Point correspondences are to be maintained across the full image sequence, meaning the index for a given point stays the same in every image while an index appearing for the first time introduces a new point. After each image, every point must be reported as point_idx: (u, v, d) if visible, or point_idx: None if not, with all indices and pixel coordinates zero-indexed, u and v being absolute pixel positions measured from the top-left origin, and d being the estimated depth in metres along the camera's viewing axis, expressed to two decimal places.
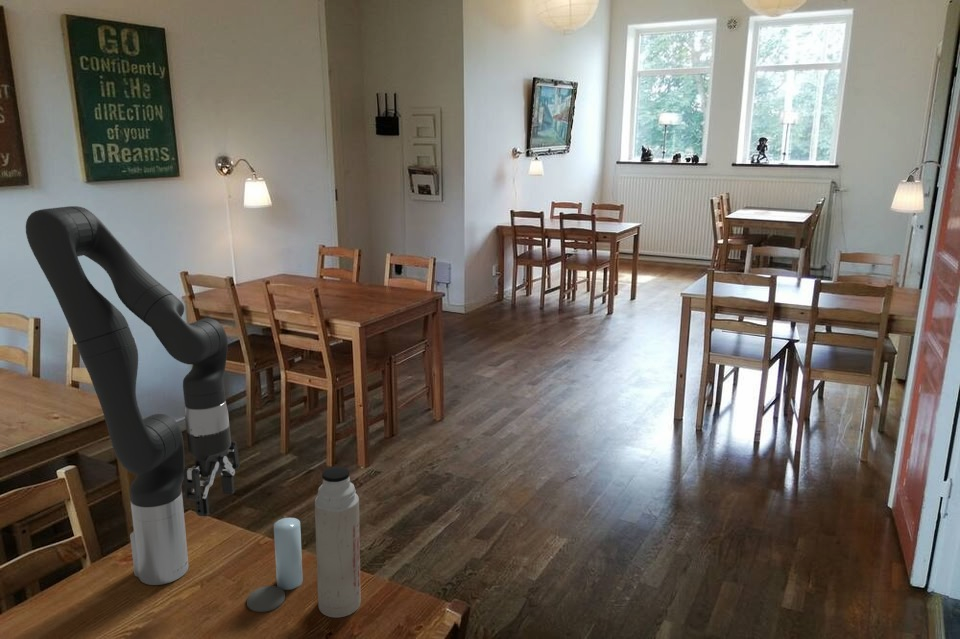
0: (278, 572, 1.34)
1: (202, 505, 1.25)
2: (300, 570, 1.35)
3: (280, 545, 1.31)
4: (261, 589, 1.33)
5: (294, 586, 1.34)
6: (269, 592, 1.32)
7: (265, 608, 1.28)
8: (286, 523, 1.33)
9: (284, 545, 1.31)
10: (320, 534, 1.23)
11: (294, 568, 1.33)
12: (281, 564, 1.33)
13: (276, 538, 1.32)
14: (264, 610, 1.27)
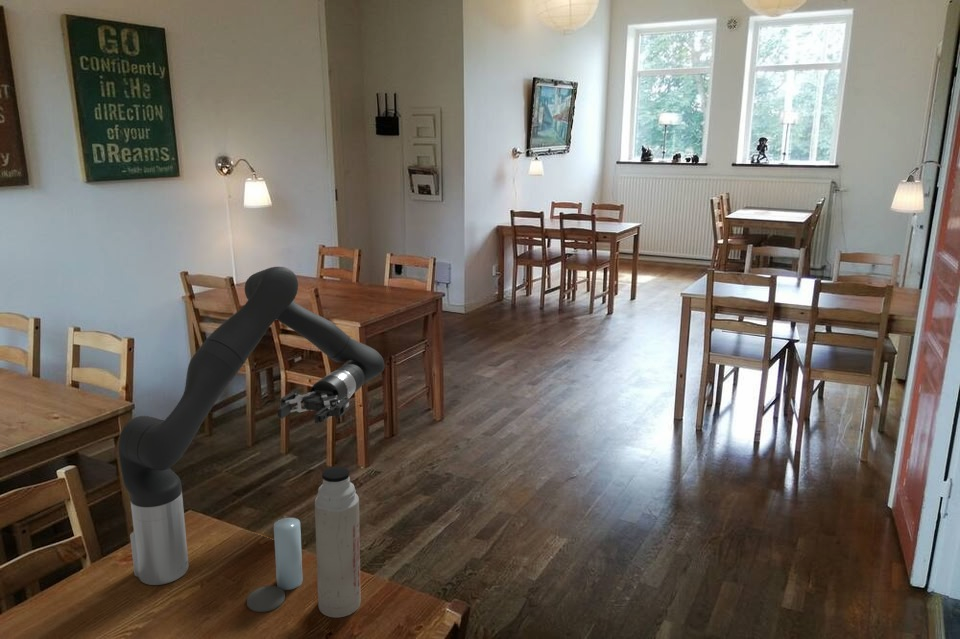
0: (278, 572, 1.34)
1: None
2: (300, 570, 1.35)
3: (280, 545, 1.31)
4: (261, 589, 1.33)
5: (294, 586, 1.34)
6: (269, 592, 1.32)
7: (265, 608, 1.28)
8: (286, 523, 1.33)
9: (284, 545, 1.31)
10: (320, 534, 1.23)
11: (294, 568, 1.33)
12: (281, 564, 1.33)
13: (276, 538, 1.32)
14: (264, 610, 1.27)
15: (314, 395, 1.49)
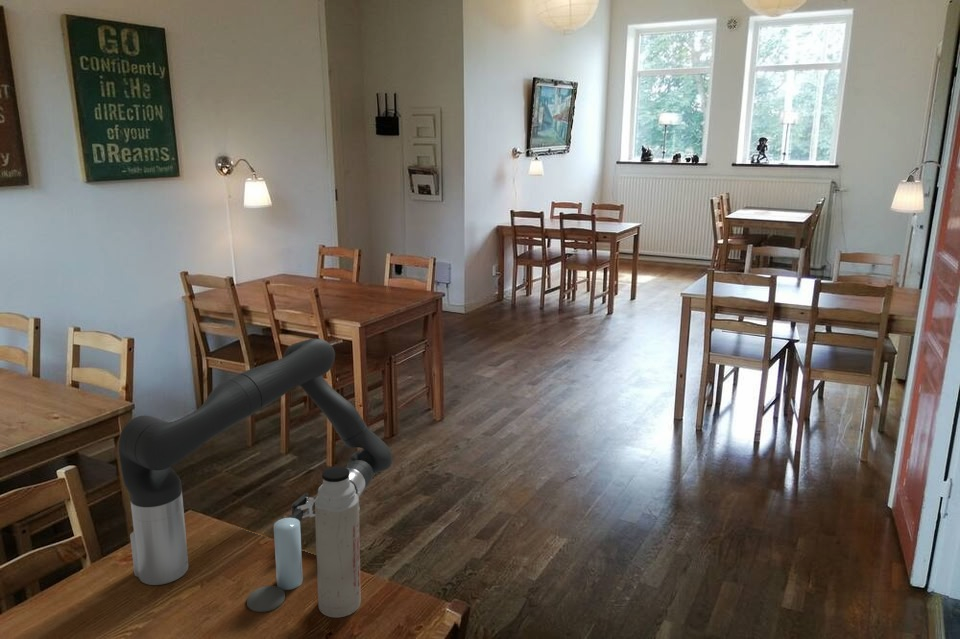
0: (278, 572, 1.33)
1: None
2: (300, 570, 1.35)
3: (280, 545, 1.31)
4: (261, 589, 1.33)
5: (294, 586, 1.34)
6: (269, 592, 1.32)
7: (265, 608, 1.28)
8: (286, 523, 1.33)
9: (283, 545, 1.31)
10: (320, 534, 1.23)
11: (294, 568, 1.33)
12: (281, 564, 1.32)
13: (276, 538, 1.31)
14: (264, 610, 1.27)
15: None
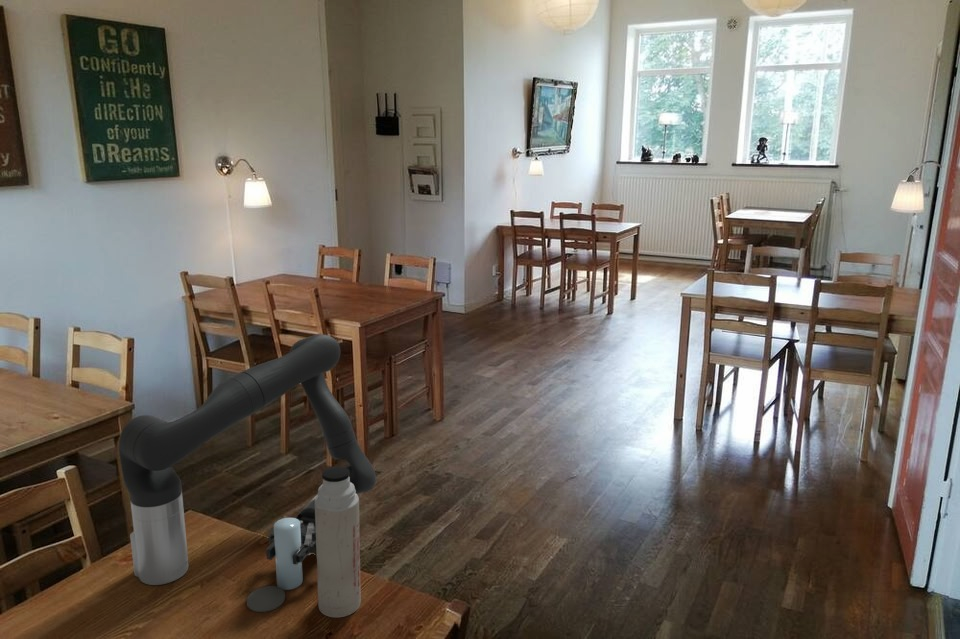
0: (278, 572, 1.33)
1: None
2: (300, 570, 1.35)
3: (280, 545, 1.31)
4: (261, 589, 1.33)
5: (294, 586, 1.34)
6: (269, 592, 1.32)
7: (265, 608, 1.28)
8: (286, 523, 1.33)
9: (284, 545, 1.31)
10: (320, 534, 1.23)
11: (295, 568, 1.33)
12: (281, 564, 1.32)
13: (276, 538, 1.32)
14: (264, 610, 1.27)
15: (302, 525, 1.41)
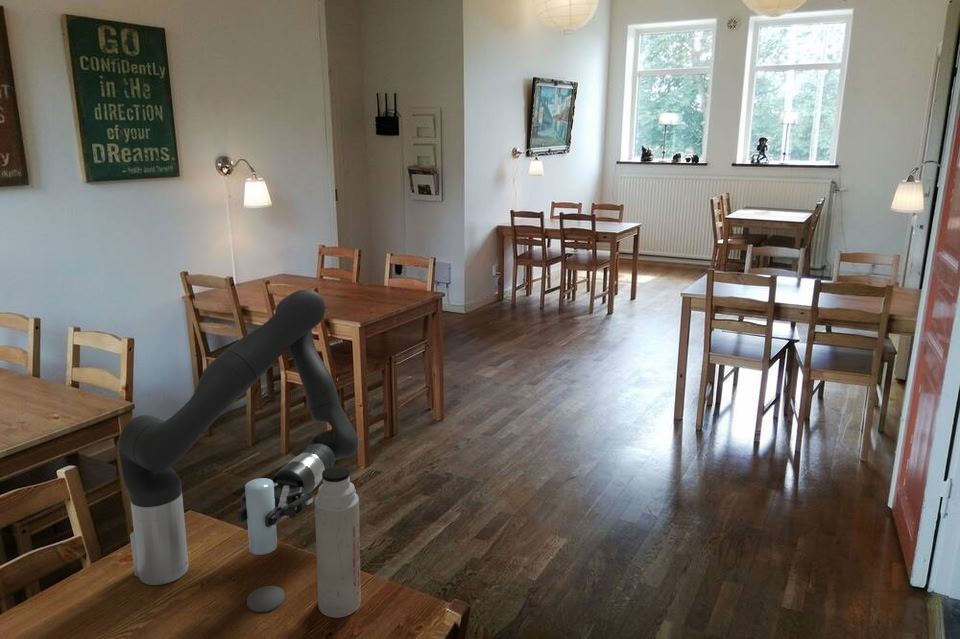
0: (250, 536, 1.25)
1: None
2: (274, 534, 1.27)
3: (252, 506, 1.23)
4: (261, 589, 1.33)
5: (267, 551, 1.26)
6: (269, 592, 1.32)
7: (265, 608, 1.28)
8: (258, 483, 1.25)
9: (255, 506, 1.23)
10: (320, 534, 1.23)
11: (268, 531, 1.25)
12: (253, 527, 1.24)
13: (248, 499, 1.23)
14: (264, 610, 1.27)
15: (277, 487, 1.32)
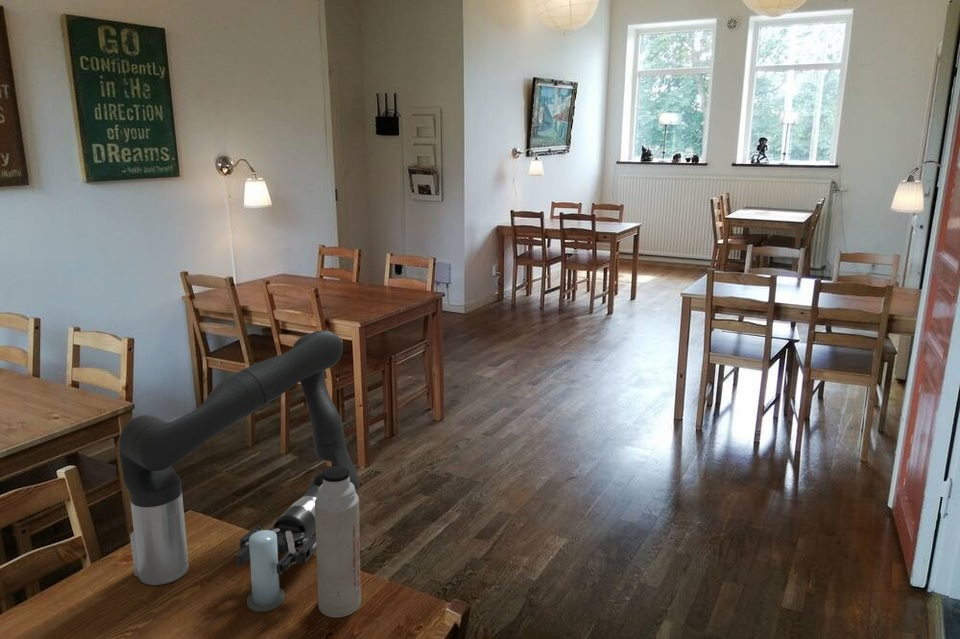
0: (254, 587, 1.28)
1: None
2: (277, 585, 1.29)
3: (256, 559, 1.26)
4: None
5: (270, 601, 1.29)
6: None
7: (265, 608, 1.28)
8: (262, 536, 1.28)
9: (259, 559, 1.26)
10: (320, 534, 1.23)
11: (271, 583, 1.28)
12: (257, 579, 1.27)
13: (252, 552, 1.26)
14: (264, 610, 1.27)
15: (278, 533, 1.35)
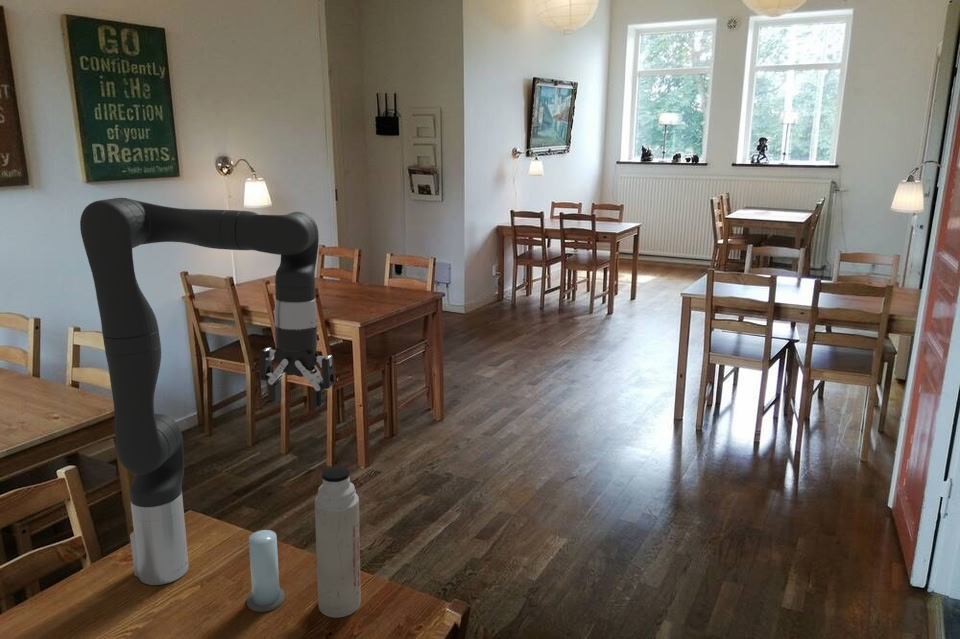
0: (253, 587, 1.28)
1: None
2: (277, 585, 1.29)
3: (255, 559, 1.26)
4: None
5: (270, 601, 1.29)
6: None
7: (265, 608, 1.28)
8: (262, 536, 1.28)
9: (259, 559, 1.26)
10: (320, 534, 1.23)
11: (271, 582, 1.28)
12: (256, 579, 1.27)
13: (251, 552, 1.26)
14: (264, 610, 1.27)
15: (288, 363, 1.25)
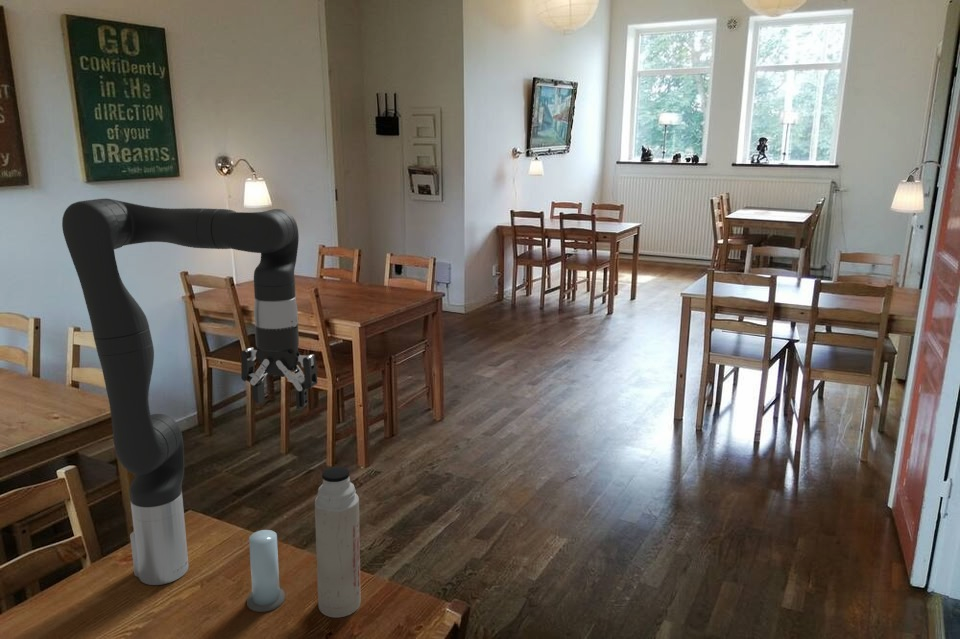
0: (253, 587, 1.28)
1: None
2: (277, 585, 1.29)
3: (256, 558, 1.26)
4: None
5: (270, 601, 1.29)
6: None
7: (265, 608, 1.28)
8: (262, 536, 1.28)
9: (259, 559, 1.26)
10: (320, 534, 1.23)
11: (271, 582, 1.28)
12: (257, 578, 1.27)
13: (252, 552, 1.26)
14: (264, 610, 1.27)
15: (270, 363, 1.23)
